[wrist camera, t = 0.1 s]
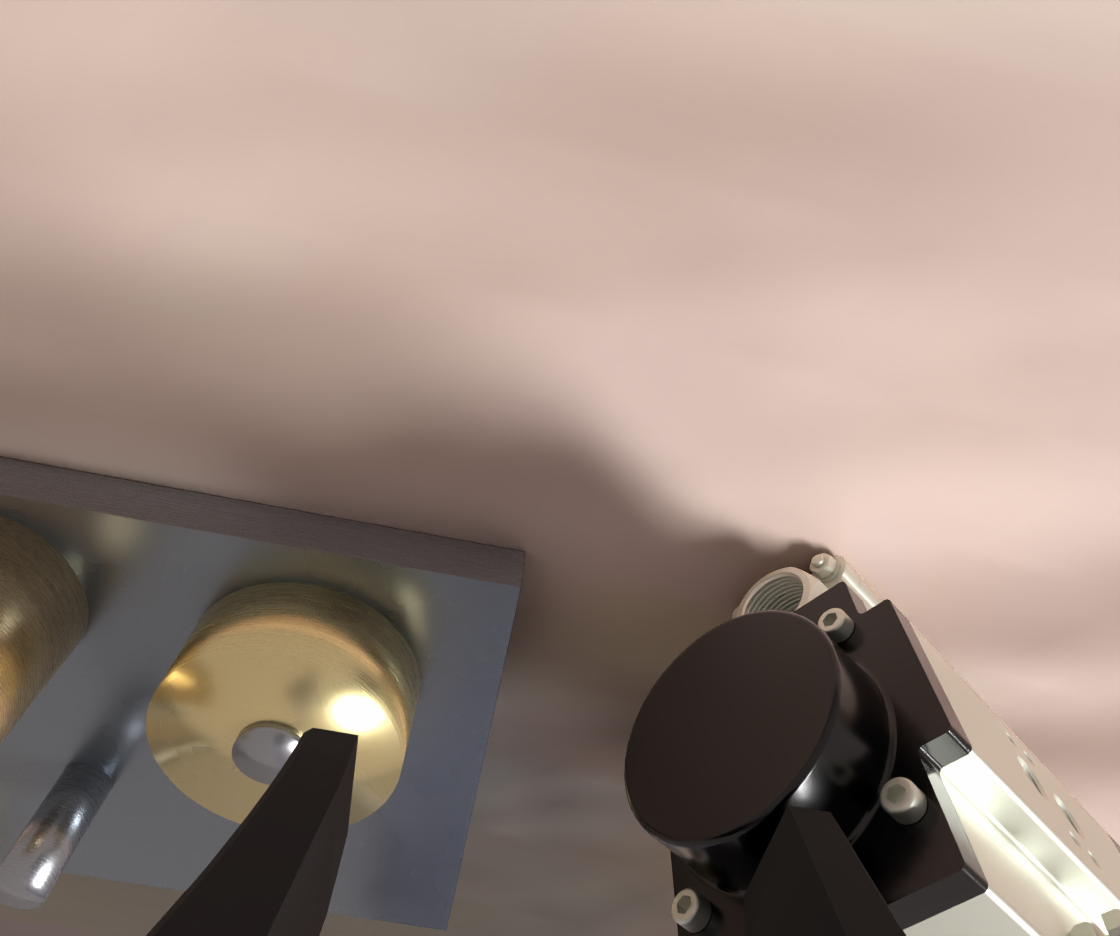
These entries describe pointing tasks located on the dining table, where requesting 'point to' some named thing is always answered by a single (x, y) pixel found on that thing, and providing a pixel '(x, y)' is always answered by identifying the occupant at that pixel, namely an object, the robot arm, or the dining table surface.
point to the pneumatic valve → (858, 771)
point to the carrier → (235, 683)
